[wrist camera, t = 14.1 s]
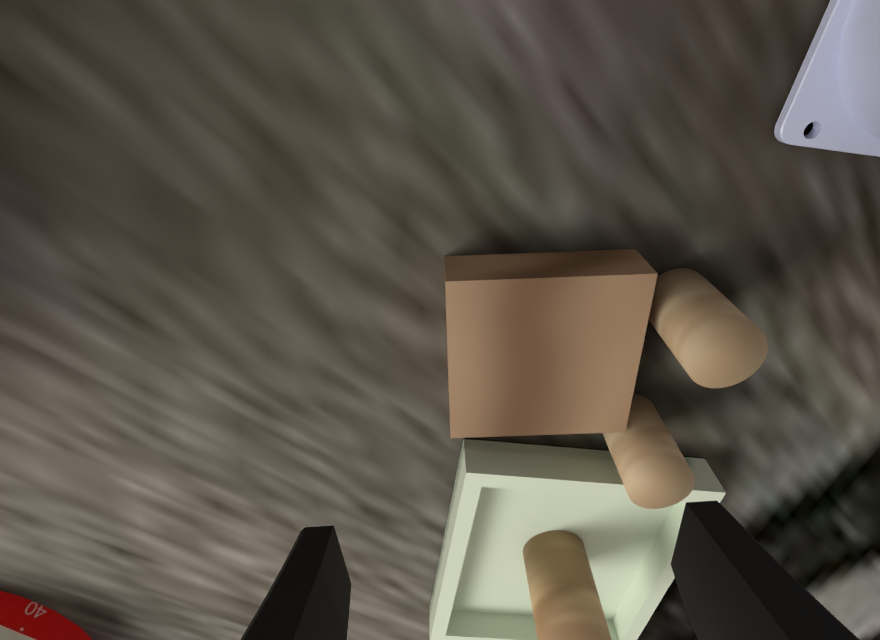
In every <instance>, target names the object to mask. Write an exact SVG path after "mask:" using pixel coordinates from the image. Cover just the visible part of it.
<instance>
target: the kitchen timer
mask: <svg viewBox="0 0 880 640" xmlns="http://www.w3.org/2000/svg"><path fill="white" fill-rule="evenodd" d="M0 640H92V639H91V638H90V637H89V636H88V635H87V634H86V633H85V632H84V631H83V630H82V628H81V627H79V626H78V625H76V624H74V623H73V622H71V621H70V620H68V619H67V618H65V617H64V616H62V615H61V614H59V613H57V612H56V611H54V610H52V609H49V608H47V607H45V606H42V605H40V604H38V603H35V602H33V601H31V600H28V599H26V598H24V597H21V596H18V595H14V594H10V593H7V592H3V591H0Z"/></svg>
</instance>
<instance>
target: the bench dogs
mask: <svg viewBox="0 0 880 640" xmlns="http://www.w3.org/2000/svg"><path fill="white" fill-rule="evenodd" d="M648 320H649V321H650V323H651V324H652V325H653V327H654V328H655V330H656V331H657V332H658V334H659V335H660V336H661V338H662V339H663V341H664V342H665V343H666V345H667V346H668V347H669V349H670V350H671V351H672V353H673V354H674V356H675V357H676V358H677V360H678V361H679V362H680V364H681V365H682V367H683V368H684V369H685V371H686V372H687V373H688V375H689V376H690V378H691V379H692V380H693V381H694V382H695V383H697V384H699V385H701V386H704V387H708V388H724V387H728V386H732V385H735V384H737V383H740V382H742V381H743V380H745V379H747V378H748V377H750V376H751V375H752V374H754V373H755V372H756V371H757V370H758V369H759V367H760V366H761V365H762V363H763V362H764V360H765V358H766V355H767V352H768V341H767V338H766V336H765V334H764V333H763V332H762V331H761V330H760V329H759V328H758V327H757V326H756V325H755V324H754V323H753V322H751V321H750V320H749V319H748V318H747V317H746V316H745V315H744V314H743V313H742V312H741V311H740V310H739V309H738V308H737V307H735V306H734V305H733V304H732V303H731V302H730V301H729V300H728V299H727V298H726V297H725V296H724V295H723V294H722V293H721V292H719V291H718V290H717V289H716V288H715V287H714V286H713V285H712V284H711V283H710V282H709V281H708V280H707V279H706V278H705V277H703V276H702V275H701V274H700V273H699V272H697V271H695V270H692V269H688V268H677V269H672V270H669V271H666V272H664V273H662V274H660V275H659V276H658V277H657V280H656V285H655V290H654V294H653V299H652V304H651V309H650V314H649V319H648ZM602 434H603V436H604V438H605V441H606V443H607V446H608V448H609V450H610V453H611V455H612V458H613V460H614V462H615V465H616V467H617V470H618V472H619V474H620V477H621V479H622V482H623V484H624V486H625V489H626V491H627V494H628V496H629V498H630V500H631V501H632V502H633V503H634V504H636V505H637V506H640V507H642V508H647V509H660V508H665V507H669V506H672V505H674V504H677V503H679V502H680V501H682V500H683V499H685V498H686V497H687V496H688V495H689V494H690V493H691V491H692V490H693V488H694V485H695V476H694V474H693V472H692V471H691V469H690V467H689V465H688V464H687V462H686V460H685V458H684V457H683V455H682V453H681V452H680V450H679V448H678V446H677V445H676V443H675V441H674V439H673V438H672V436H671V434H670V433H669V431H668V429H667V427H666V426H665V424H664V422H663V420H662V419H661V417H660V415H659V414H658V412H657V410H656V408H655V407H654V405H653V403H652V402H651V401H650V399H648V398H647V397H645V396H643V395H640V394H633V397H632V402H631V407H630V412H629V417H628V422H627V427H626V431H625V432H614V433H602Z"/></svg>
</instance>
